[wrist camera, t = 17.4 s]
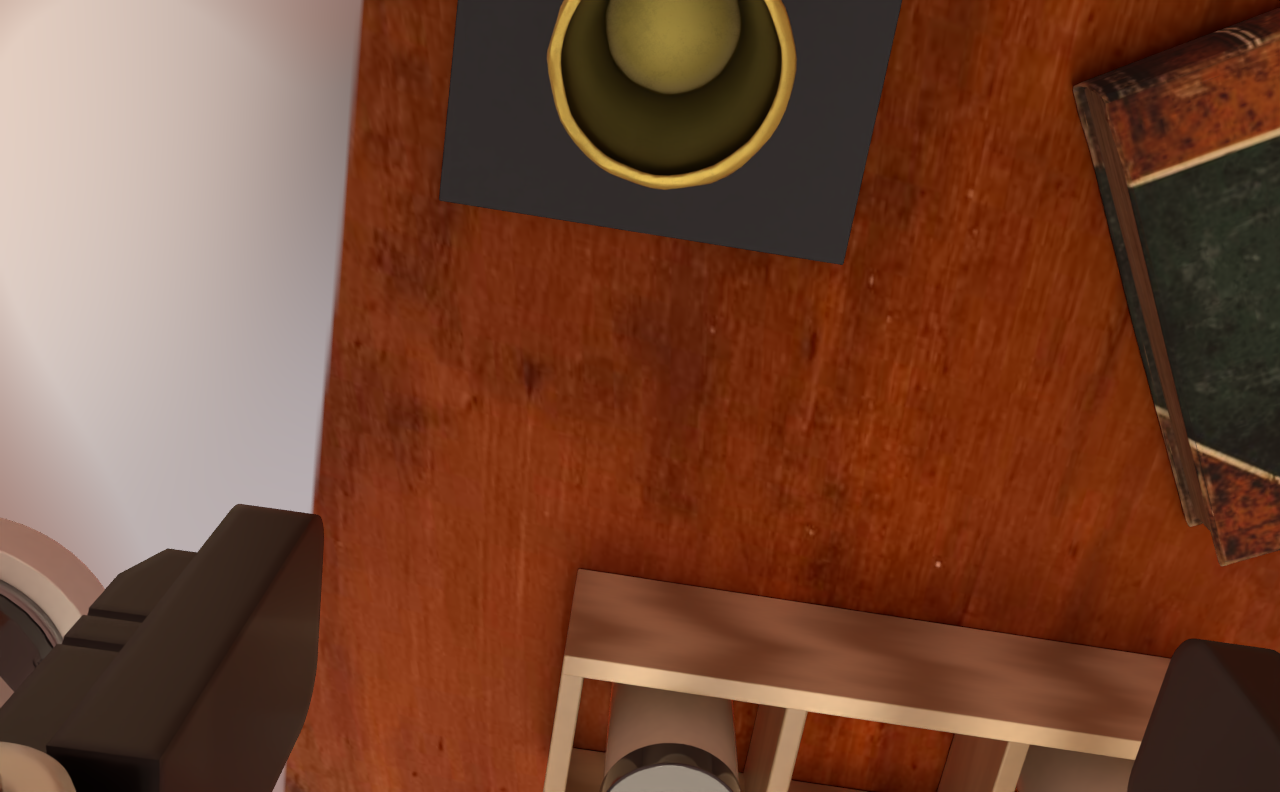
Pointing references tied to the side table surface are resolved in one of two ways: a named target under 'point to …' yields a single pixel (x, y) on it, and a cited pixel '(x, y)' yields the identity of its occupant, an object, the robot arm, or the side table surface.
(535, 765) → the side table surface
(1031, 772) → the spice jar right
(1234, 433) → the book
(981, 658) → the rack
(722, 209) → the mat
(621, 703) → the spice jar left
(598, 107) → the vase
